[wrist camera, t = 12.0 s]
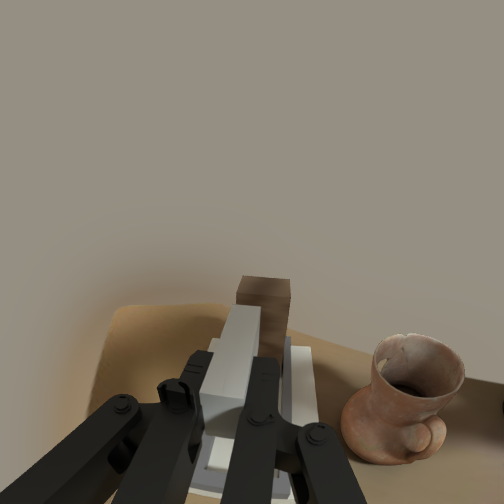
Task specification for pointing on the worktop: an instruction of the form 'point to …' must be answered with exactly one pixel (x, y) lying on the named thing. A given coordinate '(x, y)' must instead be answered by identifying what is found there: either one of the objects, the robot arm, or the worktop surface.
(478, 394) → the worktop surface
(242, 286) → the slider
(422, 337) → the ceramic jug
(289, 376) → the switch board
